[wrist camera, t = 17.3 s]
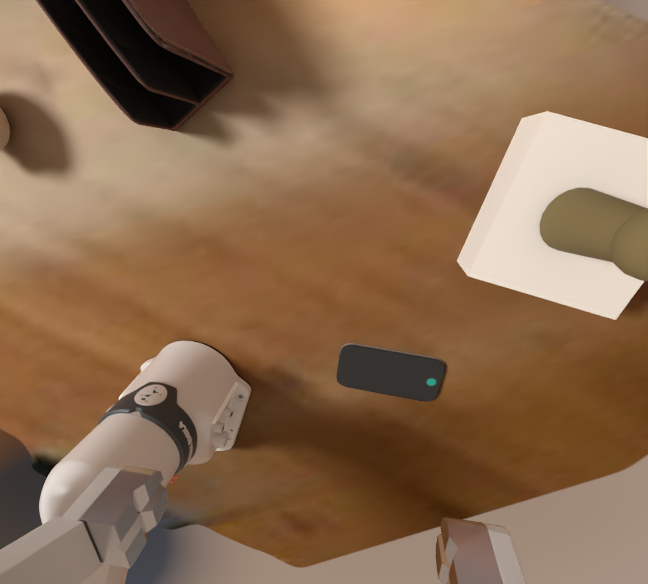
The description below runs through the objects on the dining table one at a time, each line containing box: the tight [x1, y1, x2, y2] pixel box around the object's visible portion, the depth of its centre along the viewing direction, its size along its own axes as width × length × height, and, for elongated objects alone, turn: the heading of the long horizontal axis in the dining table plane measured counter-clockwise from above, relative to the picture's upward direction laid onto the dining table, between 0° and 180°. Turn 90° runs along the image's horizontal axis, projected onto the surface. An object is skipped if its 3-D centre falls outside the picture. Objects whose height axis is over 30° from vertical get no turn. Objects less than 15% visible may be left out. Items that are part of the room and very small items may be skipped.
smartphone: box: [337, 343, 445, 401], centre depth 47 cm, size 8×1×15 cm
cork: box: [540, 188, 648, 281], centre depth 26 cm, size 6×6×11 cm
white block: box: [457, 111, 648, 320], centre depth 34 cm, size 16×16×6 cm
